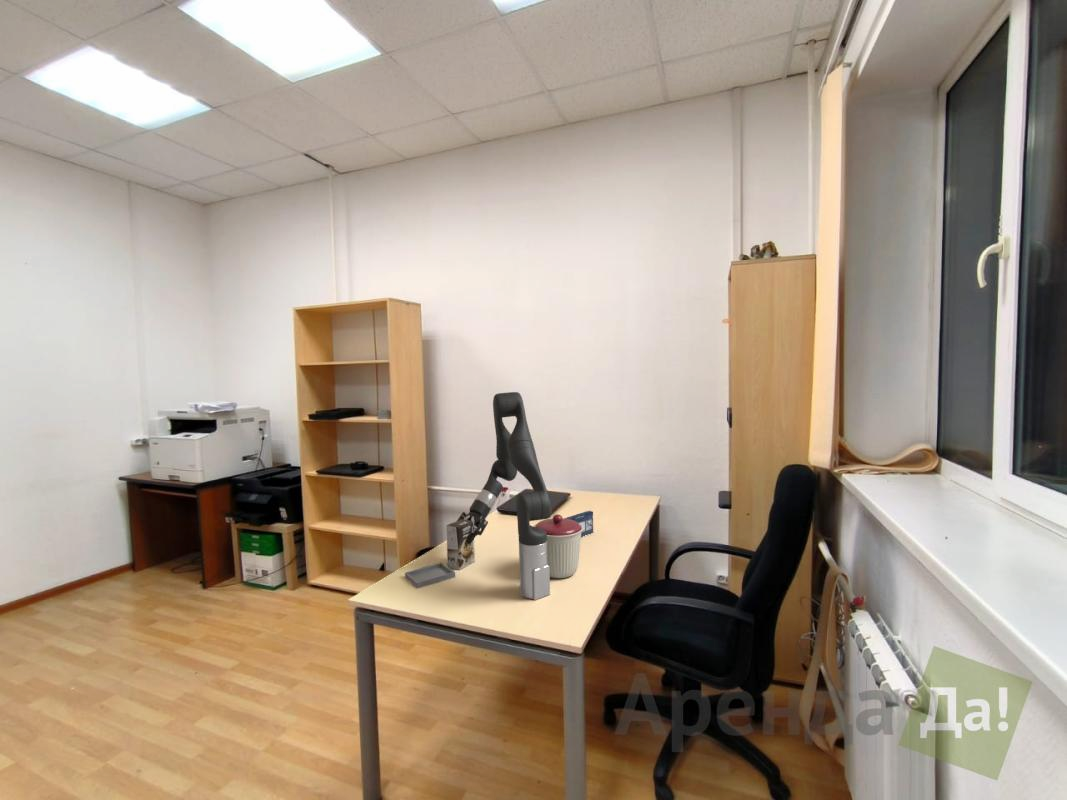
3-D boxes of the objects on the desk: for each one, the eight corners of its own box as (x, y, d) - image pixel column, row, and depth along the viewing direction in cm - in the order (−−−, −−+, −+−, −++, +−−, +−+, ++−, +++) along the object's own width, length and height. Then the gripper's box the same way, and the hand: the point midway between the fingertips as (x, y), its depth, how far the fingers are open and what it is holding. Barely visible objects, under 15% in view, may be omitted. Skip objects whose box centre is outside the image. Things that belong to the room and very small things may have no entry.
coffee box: (460, 570, 171) (458, 527, 170) (447, 567, 174) (445, 525, 174) (475, 561, 179) (474, 520, 178) (462, 558, 182) (461, 518, 181)
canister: (526, 567, 172) (525, 511, 171) (570, 559, 179) (569, 505, 178) (544, 587, 156) (543, 525, 154) (593, 578, 162) (591, 518, 161)
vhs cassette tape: (564, 543, 196) (563, 520, 195) (559, 542, 198) (559, 519, 198) (594, 533, 207) (594, 511, 207) (589, 532, 210) (589, 510, 209)
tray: (455, 577, 166) (455, 572, 166) (417, 588, 157) (416, 583, 157) (441, 567, 175) (441, 562, 175) (405, 577, 166) (404, 572, 166)
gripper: (466, 495, 187) (443, 531, 179) (489, 501, 177) (466, 539, 169) (477, 505, 191) (455, 541, 183) (500, 512, 181) (478, 549, 173)
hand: (460, 540), depth 176 cm, fingers open, 8 cm apart
